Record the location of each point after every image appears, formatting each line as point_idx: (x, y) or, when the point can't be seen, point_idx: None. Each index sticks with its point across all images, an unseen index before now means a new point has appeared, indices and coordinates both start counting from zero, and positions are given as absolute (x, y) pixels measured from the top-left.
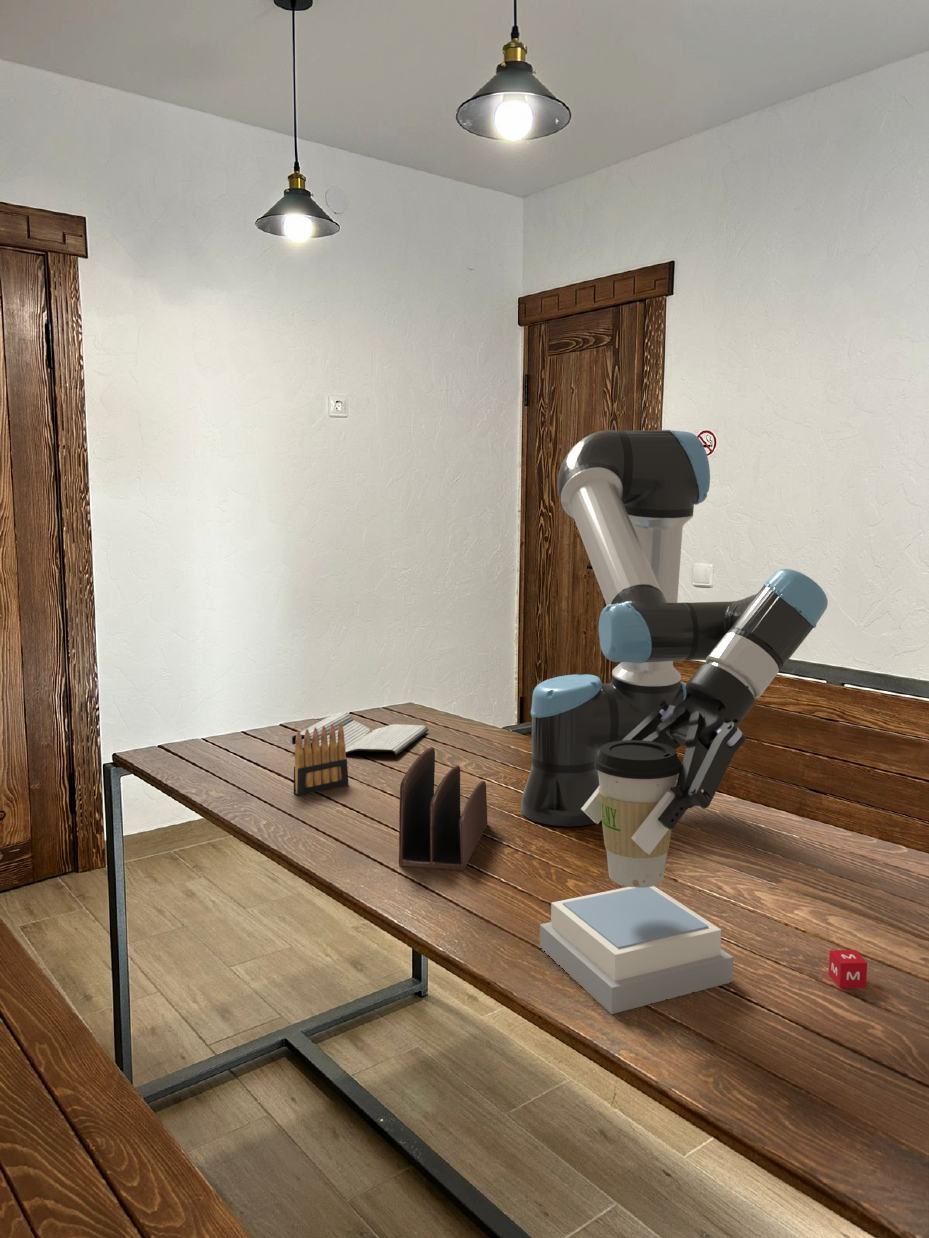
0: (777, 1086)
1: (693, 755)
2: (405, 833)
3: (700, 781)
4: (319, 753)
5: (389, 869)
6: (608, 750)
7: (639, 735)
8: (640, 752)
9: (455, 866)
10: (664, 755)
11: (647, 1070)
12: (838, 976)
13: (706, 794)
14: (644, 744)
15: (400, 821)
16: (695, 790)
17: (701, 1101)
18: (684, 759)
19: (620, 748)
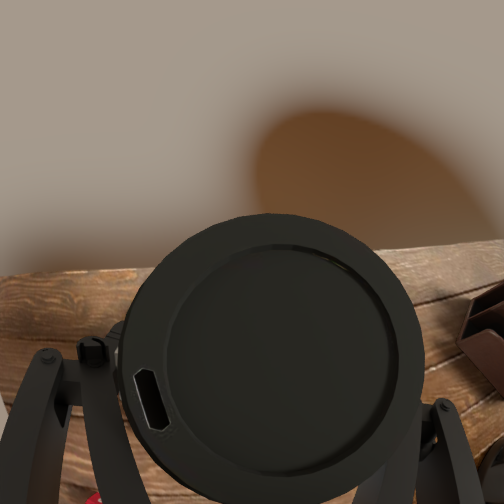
0: (45, 329)
1: (97, 480)
2: (492, 297)
3: (30, 378)
4: None
5: (467, 289)
6: (339, 253)
7: (447, 482)
8: (291, 374)
9: (459, 336)
10: (175, 407)
11: (109, 273)
12: (97, 496)
13: (54, 409)
14: (357, 445)
15: (497, 285)
16: (39, 356)
17: (68, 276)
18: (129, 462)
19: (362, 329)
